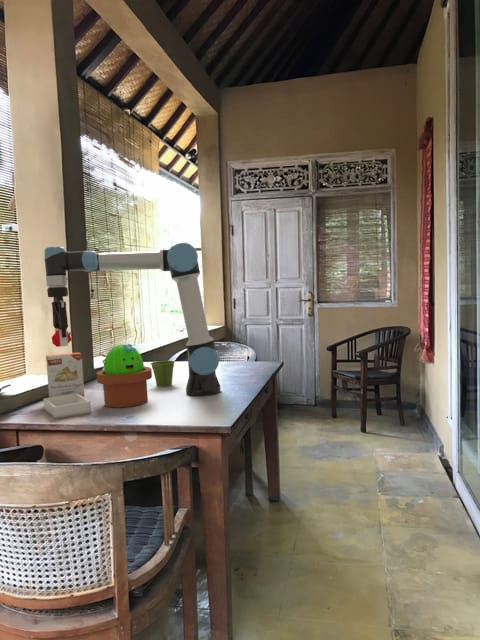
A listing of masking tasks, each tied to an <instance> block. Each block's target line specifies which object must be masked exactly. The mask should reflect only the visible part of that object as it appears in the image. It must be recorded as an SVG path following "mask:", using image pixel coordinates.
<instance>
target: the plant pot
mask: <svg viewBox="0 0 480 640" xmlns="http://www.w3.org/2000/svg"><path fill="white" fill-rule="evenodd" d="M175 363H176V361H175V360H160V361H159V360H158V361H153V362H150V364H149V365H151V370H152V372H153V375H154V379H155V384H156V386H157V387H159V388H160V387H161V388H162V387H165V386H166V387H170V386H172V385H173V374H174V368H175Z"/></svg>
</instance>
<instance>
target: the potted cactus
mask: <svg viewBox="0 0 480 640" xmlns="http://www.w3.org/2000/svg"><path fill="white" fill-rule="evenodd" d="M105 356H106V357H105V358H104V362H103V370H99V371H97V372H96V382H97V383H98V384H100V385H102V386H103V401H104V405H105V406H106V407H109V408H115V409H116V408H117V409H119V408H120V409H121V408H129V407H130V406H131V407H135V405H136V406H139V405H140V406H141V405H143V404H145V403H147V402H148V400H149V397H148V383H147V382H148V380H150V379H152V377H153V373H152V372H153V369H152V367H150V366H146V365H145V364H144V360H143V357H142V355H141V353H140V351H139V350H137V348H135V347H133V344H129V343H127V344H126V343H125V344H118V345H114V346H113V347H112V348H111V349H109V350H108V352H107V353H106V355H105Z"/></svg>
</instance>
